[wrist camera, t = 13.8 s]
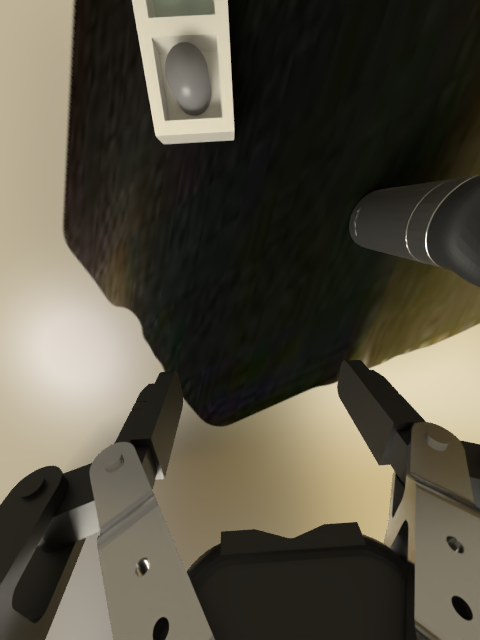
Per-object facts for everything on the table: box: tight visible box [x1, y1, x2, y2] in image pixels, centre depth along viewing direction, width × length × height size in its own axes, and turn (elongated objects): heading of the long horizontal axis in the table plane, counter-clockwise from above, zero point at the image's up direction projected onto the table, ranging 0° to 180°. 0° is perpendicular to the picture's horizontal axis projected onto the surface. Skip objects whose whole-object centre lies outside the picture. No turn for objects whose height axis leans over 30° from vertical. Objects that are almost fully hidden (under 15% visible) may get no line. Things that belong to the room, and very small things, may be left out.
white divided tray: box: [132, 0, 235, 144], centre depth 27 cm, size 10×20×6 cm, turn 3°
